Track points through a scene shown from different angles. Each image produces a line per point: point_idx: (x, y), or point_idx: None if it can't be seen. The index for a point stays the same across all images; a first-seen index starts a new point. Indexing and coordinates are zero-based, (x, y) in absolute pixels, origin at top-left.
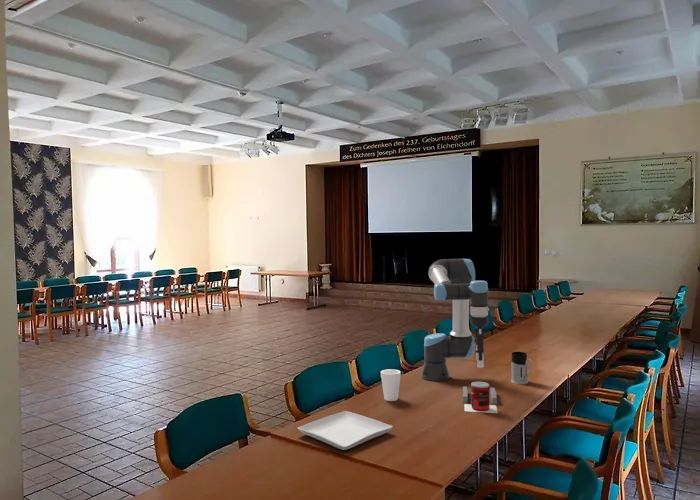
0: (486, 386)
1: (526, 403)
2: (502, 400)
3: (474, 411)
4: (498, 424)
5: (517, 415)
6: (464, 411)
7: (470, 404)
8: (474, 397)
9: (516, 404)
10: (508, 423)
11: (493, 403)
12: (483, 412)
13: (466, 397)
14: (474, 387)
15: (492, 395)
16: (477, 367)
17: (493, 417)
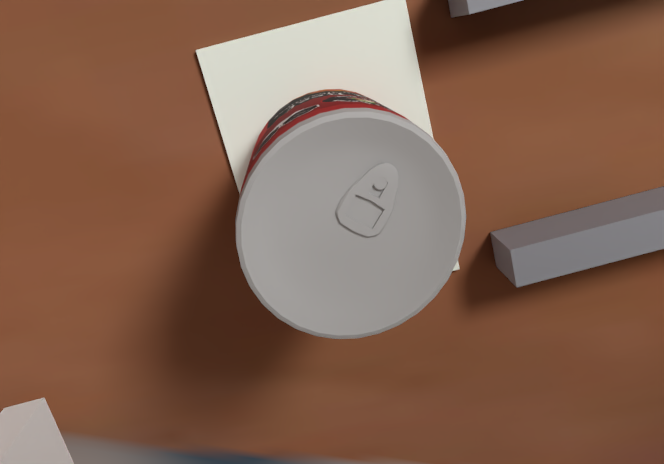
0: (285, 321)
1: (588, 452)
2: (616, 285)
3: (227, 138)
4: (26, 371)
5: (289, 447)
6: (196, 50)
7: (408, 57)
8: (255, 150)
9: (544, 396)
10: (86, 426)
11: (493, 243)
12: None
13: (464, 3)
14: (248, 174)
15: (579, 237)
16: (4, 412)
17: (164, 307)
